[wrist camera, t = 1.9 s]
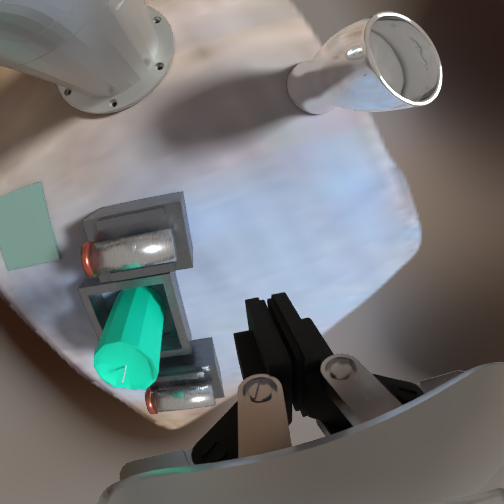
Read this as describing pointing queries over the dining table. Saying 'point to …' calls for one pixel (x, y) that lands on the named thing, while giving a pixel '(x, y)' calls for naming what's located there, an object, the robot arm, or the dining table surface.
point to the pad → (26, 229)
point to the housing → (173, 343)
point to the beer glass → (369, 68)
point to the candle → (131, 340)
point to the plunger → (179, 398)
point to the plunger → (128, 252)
